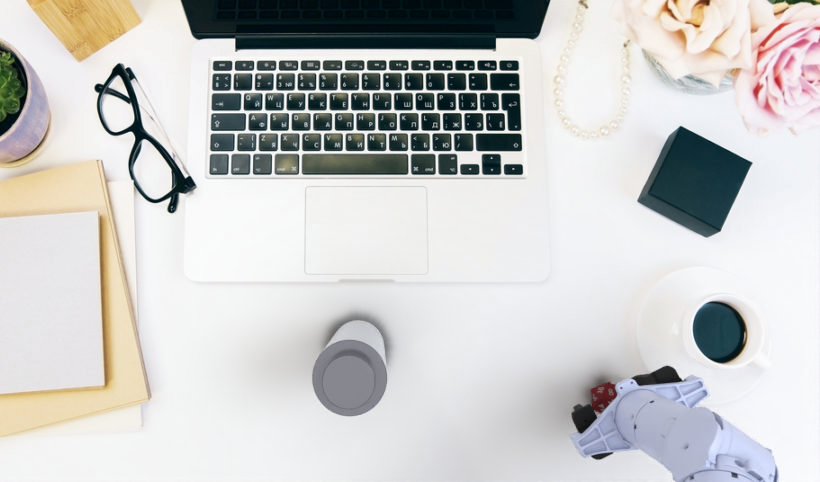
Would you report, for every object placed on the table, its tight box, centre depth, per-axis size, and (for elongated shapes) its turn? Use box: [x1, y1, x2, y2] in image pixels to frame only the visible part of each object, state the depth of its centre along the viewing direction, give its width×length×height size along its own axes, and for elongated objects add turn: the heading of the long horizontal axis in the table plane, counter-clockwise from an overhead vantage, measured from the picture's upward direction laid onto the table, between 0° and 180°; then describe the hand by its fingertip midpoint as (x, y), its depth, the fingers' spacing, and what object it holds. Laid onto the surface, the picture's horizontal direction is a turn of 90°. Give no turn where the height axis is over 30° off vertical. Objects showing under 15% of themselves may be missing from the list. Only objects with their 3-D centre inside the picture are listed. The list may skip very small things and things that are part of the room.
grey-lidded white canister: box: [311, 319, 388, 417], centre depth 60 cm, size 6×6×24 cm
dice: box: [590, 381, 617, 414], centre depth 69 cm, size 4×4×4 cm
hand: (608, 398), depth 69 cm, fingers open, 7 cm apart
